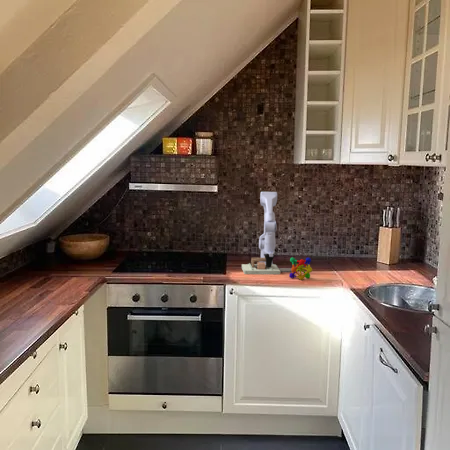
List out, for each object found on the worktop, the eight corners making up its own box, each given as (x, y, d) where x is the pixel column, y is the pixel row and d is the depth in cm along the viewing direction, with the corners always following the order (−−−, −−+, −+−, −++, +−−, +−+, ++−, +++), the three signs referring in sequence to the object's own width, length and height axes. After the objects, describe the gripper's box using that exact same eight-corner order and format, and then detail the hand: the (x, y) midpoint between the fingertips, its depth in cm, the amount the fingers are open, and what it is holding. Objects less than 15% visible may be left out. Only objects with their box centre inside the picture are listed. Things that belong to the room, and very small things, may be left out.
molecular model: (309, 277, 260) (310, 256, 258) (312, 280, 253) (313, 259, 251) (288, 277, 260) (289, 256, 258) (291, 280, 253) (291, 259, 251)
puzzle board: (241, 267, 280) (241, 263, 280) (275, 267, 281) (275, 263, 281) (244, 274, 264) (244, 269, 264) (280, 274, 266) (280, 269, 265)
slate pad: (279, 269, 278) (279, 268, 278) (291, 269, 278) (291, 268, 278) (281, 272, 271) (281, 271, 271) (293, 272, 272) (293, 271, 272)
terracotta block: (257, 271, 273) (257, 262, 272) (263, 271, 273) (264, 262, 272) (257, 272, 269) (258, 263, 268) (265, 272, 269) (265, 263, 268)
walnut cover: (251, 264, 278) (251, 257, 278) (267, 264, 279) (267, 257, 278) (252, 267, 271) (252, 260, 271) (269, 267, 272) (269, 260, 271)
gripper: (260, 240, 275) (260, 263, 277) (264, 245, 261) (263, 269, 263) (272, 240, 276) (272, 264, 278) (277, 245, 261) (276, 269, 263)
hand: (268, 266), depth 270 cm, fingers closed
